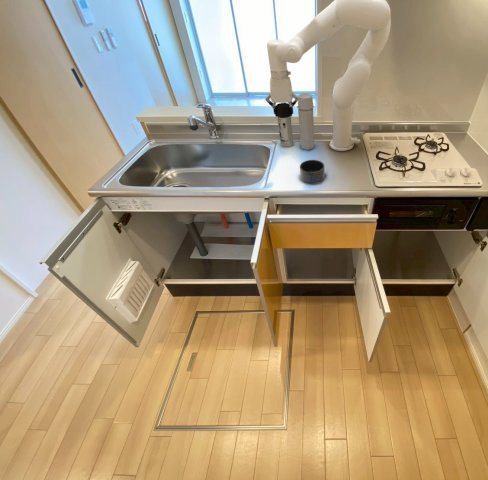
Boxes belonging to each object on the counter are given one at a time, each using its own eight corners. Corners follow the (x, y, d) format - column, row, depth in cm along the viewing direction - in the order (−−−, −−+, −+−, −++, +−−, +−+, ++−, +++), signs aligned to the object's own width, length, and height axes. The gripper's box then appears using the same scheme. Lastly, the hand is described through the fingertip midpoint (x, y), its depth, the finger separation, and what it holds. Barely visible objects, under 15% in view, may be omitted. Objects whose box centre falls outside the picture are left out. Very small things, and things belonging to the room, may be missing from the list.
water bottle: (316, 149, 137) (314, 98, 119) (301, 151, 137) (297, 99, 119) (313, 141, 144) (311, 91, 126) (299, 143, 143) (295, 92, 125)
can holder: (324, 170, 124) (324, 159, 120) (324, 183, 116) (324, 172, 112) (301, 170, 124) (300, 160, 120) (300, 184, 117) (299, 173, 113)
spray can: (279, 142, 144) (274, 103, 129) (291, 140, 145) (287, 101, 131) (282, 148, 139) (277, 108, 125) (295, 145, 141) (291, 106, 127)
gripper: (299, 71, 121) (301, 112, 134) (261, 72, 121) (267, 113, 134) (298, 76, 116) (301, 118, 129) (258, 77, 116) (265, 119, 129)
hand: (283, 115), depth 132 cm, fingers closed on spray can, 6 cm apart
